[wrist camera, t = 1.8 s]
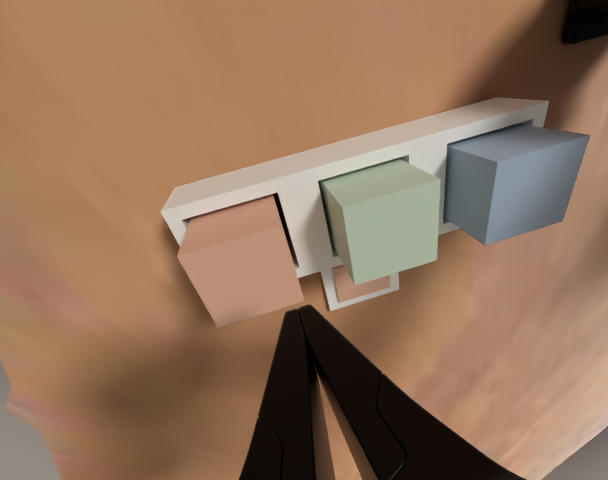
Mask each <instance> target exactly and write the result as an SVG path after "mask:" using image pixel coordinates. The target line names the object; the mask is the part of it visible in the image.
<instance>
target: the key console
mask: <svg viewBox="0 0 608 480" xmlns="http://www.w3.org/2000/svg"><path fill="white" fill-rule="evenodd" d="M548 104H549V101H543V100H529V99H514V98H500V97H495V98H492V99H488V100H484V101H481V102H477V103H474V104H470V105H467V106H463V107H459V108H456V109H452V110H449V111H445V112H442V113H438V114H435V115H431V116H427V117H424V118H420V119H417V120H413V121H410V122H406V123H402V124H399V125H395V126H392V127H388V128H385V129H381V130H377V131H374V132H370V133H367V134H363V135H360V136H356V137H352V138H349V139H345V140H342V141H338V142H335V143H331V144H328V145H324V146H320V147H317V148H313V149H310V150H306V151H303V152H299V153H295V154H292V155H288V156H285V157H281V158H278V159H274V160H270V161H267V162H263V163H260V164H256V165H253V166H249V167H245V168H242V169H238V170H235V171H231V172H228V173H224V174H221V175H217V176H213V177H210V178H206V179H203V180H199V181H196V182H192V183H188V184H185V185H181V186H178V187H175V188H174V190H173V192H172V193H171V195H170V197H169V198H168V200H167V202H166V203H165V205H164V206H163V208H162V210H161V211H160V212H161V213H162V215H163V217H164V219H165V221H166V222H167V224H168V226H169V228H170V230H171V231H172V233H173V235H174V237H175V239H176V240H177V242H178V244H179V246H180V247H181V244H182V241H183V238H184V236H185V233H186V230H187V227H188V225H189V222H190V219H191V217H194V216H197V215H201V214H204V213H208V212H211V211H214V210H218V209H221V208H225V207H228V206H232V205H235V204H239V203H242V202H246V201H249V200H253V199H256V198H260V197H263V196H267V195H270V194H274V193H277V194H278V197H279V201H280V204H281V208H282V211H283V214H284V218H285V221H286V225H287V228H288V231H289V235H290V238H291V239H289V240H287V242H288V246H289V249H290V252H291V256H292V259H293V263H294V266H295V270H296V273H297V277H298V278H300V277H303V276H307V275H310V274H313V273H317V272H320V271H323V270H326V269H330V268H333V267H336V266H339V265H343V263H342V261H341V259H340V257H339V256H338V254H337V252H336V250H335V248H334V247H333V245H332V243H331V240H330V235H329V230H328V228H327V224H326V219H325V214H324V209H323V204H322V199H321V194H320V189H319V184H318V181H319V180H322V179H326V178H329V177H333V176H336V175H340V174H343V173H347V172H350V171H354V170H357V169H361V168H364V167H368V166H371V165H375V164H378V163H382V162H385V161H389V160H392V159H396V158H399V159H401V160H403V161H405V162H407V163H409V164H411V165H413V166H415V167H417V168H419V169H421V170H423V171H425V172H428V173H430V174H432V175H434V176H436V177H438V178H440V179H441V182H440V204H439V226H438V235H441V234H444V233H448V232H451V231H454V230H457V229H460V228H459V227H457V226H456V225H454V224H453V223H451V222H450V221H448V220H447V219H445V218H444V217H443V211H444V193H445V174H446V156H447V144H448V143H451V142H455V141H458V140H462V139H465V138H469V137H472V136H476V135H479V134H483V133H486V132H490V131H493V130H497V129H500V128H504V127H507V126H511V125H514V124H523V125H529V126H536V127H542V128H543V126H544V122H545V117H546V113H547V109H548Z"/></svg>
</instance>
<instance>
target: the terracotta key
mask: <svg viewBox="0 0 608 480" xmlns="http://www.w3.org/2000/svg"><path fill="white" fill-rule="evenodd" d="M177 258H178V259H179V261H180V263H181V265H182V266H183V268H184V270H185V271H186V273H187V275H188V277H189V278H190V280H191V282H192V284H193V285H194V287H195V289H196V291H197V292H198V294H199V296H200V297H201V299H202V301H203V303H204V304H205V306H206V308H207V310H208V311H209V313H210V315H211V316H212V318H213V320H214V322H215V323H216V325H217V327H218V328H220V327H223V326H226V325H230V324H233V323H236V322H239V321H242V320H246V319H249V318H252V317H255V316H259V315H262V314H265V313H268V312H271V311H275V310H278V309H281V308H284V307H288V306H291V305H294V304H297V303H301V302H304V297H303V294H302V290H301V287H300V284H299V280H298V277H297V273H296V270H295V266H294V263H293V259H292V256H291V252H290V249H289V246H288V242H287V239H286V236H285V232H284V229H283V226H282V222H281V219H280V216H279V213H278V209H277V206H276V203H275V199H274V196H273V194H270V195H267V196H263V197H260V198H256V199H253V200H249V201H246V202H242V203H239V204H235V205H232V206H228V207H225V208H221V209H218V210H214V211H211V212H208V213H204V214H201V215H197V216H194V217H191V219H190V222H189V225H188V227H187V230H186V233H185V236H184V238H183V241H182V244H181V247H180V249H179V252H178V255H177Z"/></svg>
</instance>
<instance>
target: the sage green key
mask: <svg viewBox="0 0 608 480" xmlns="http://www.w3.org/2000/svg"><path fill="white" fill-rule="evenodd" d="M440 182H441V179H440V178H438V177H436V176H434V175H432V174H430V173H428V172H425V171H423V170H421V169H419V168H417V167H415V166H413V165H411V164H409V163H407V162H405V161H403V160H401V159H399V158H396V159H392V160H389V161H385V162H382V163H378V164H375V165H371V166H368V167H364V168H361V169H357V170H354V171H350V172H347V173H343V174H340V175H336V176H333V177H329V178H326V179H322V180H319V186H320V191H321V196H322V201H323V205H324V210H325V215H326V220H327V225H328V230H329V235H330V240H331V243H332V245H333V247H334V248H335V250H336V252H337V254H338V256H339V257H340V259H341V261H342V263H343V265H344V267H345V268H346V270H347V272H348V274H349V276H350V277H351V279H352V281H353V283H354V285H359V284H362V283H365V282H368V281H371V280H375V279H378V278H381V277H384V276H388V275H391V274H394V273H397V272H400V271H404V270H407V269H410V268H413V267H417V266H420V265H423V264H426V263H429V262H433V261H436V260H437V248H438V226H439V204H440Z"/></svg>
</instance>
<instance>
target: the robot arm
mask: <svg viewBox="0 0 608 480" xmlns="http://www.w3.org/2000/svg"><path fill="white" fill-rule="evenodd" d="M572 33H573V35H572ZM607 34H608V0H570V5H569V9H568V14H567V18H566V22H565V27H564V31H563V36H562V43H563V44H564V45H567V44H574V43H578V42H582V41H585V40H589V39H593V38H596V37H600V36H603V35H607ZM571 36H572V37H571ZM315 367H316V368H315ZM316 370H317V371H316ZM317 373H318V375H317ZM318 376H319V379H320V381H321V384H322V386H323V388H324V391H325V393H326V395H327V398H328V400H329V402H330V405H331V407H332V409H333V412H334V414H335V416H336V419H337V421H338V423H339V426H340V428H341V430H342V433H343V435H344V437H345V440H346V442H347V444H348V447H349V449H350V451H351V454H352V456H353V458H354V461H355V463H356V465H357V468H358V470H359V472H360V475H361V477H362V479H363V480H526V479H524V478H522V477H520V476H518V475H516V474H514V473H512V472H510V471H509V470H507V469H505V468H504V467H502V466H500V465H499V464H497V463H496V462H494V461H493V460H491V459H490V458H488V457H487V456H486V455H484V454H483V453H482V452H480V451H479V450H477V449H476V448H475V447H474V446H472V445H471V444H470V443H468V442H467V441H466V440H464V439H463V438H462V437H460V436H459V435H458V434H456V433H455V432H454V431H452V430H451V429H450V428H448V427H447V426H446V425H444V424H443V423H442V422H440V421H439V420H438V419H437V418H435V417H434V416H433V415H431V414H430V413H429V412H427V411H426V410H425V409H424V408H422V407H421V406H420V405H419V404H417V403H416V402H415V401H414V400H412V399H411V398H410V397H409V396H408V395H407V394H405V393H404V392H403V391H402V390H401V389H400V388H399V387H398V386H396V385H395V384H394V383H393V382H392V381H391V380H390V379H389V378H388V377H387V376H386V375H385V374H382V372H381V371H380V370H379V369H378V368H377V367H376V366H375V365H374V364H373V363H372V362H371V361H370V360H369V359H368V358H367V357H365V356H364V355H363V354H362V353H361V352H360V351H359V350H358V349H357V348H356V347H355V346H354V345H353V344H352V343H351V342H350V341H349V340H348V339H346V338H345V337H344V336H343V335H342V334H341V333H340V332H339V331H338V330H337V329H336V328H335V327H334V326H333V325H332V324H331V323H330V322H329V321H327V320H326V319H325V318H324V317H323V316H322V315H321V314H320V313H319V312H318V311H317V310H316V309H315V308H314V307H313V306H312V305H310V304H308V305H305V306H302V307H299V309H293V310H289V311H287V312H285V315H284V318H283V322H282V326H281V330H280V334H279V338H278V342H277V345H276V349H275V353H274V357H273V361H272V365H271V368H270V372H269V376H268V380H267V384H266V388H265V391H264V395H263V399H262V403H261V407H260V411H259V414H258V416H259V418H257V422H256V425H255V429H254V433H253V437H252V440H251V443H250V447H249V450H248V454H247V457H246V460H245V463H244V466H243V469H242V472H241V475H240V478H239V480H335V475H334V469H333V463H332V457H331V451H330V445H329V439H328V433H327V427H326V421H325V415H324V409H323V403H322V397H321V391H320V385H319V380H318Z"/></svg>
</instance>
